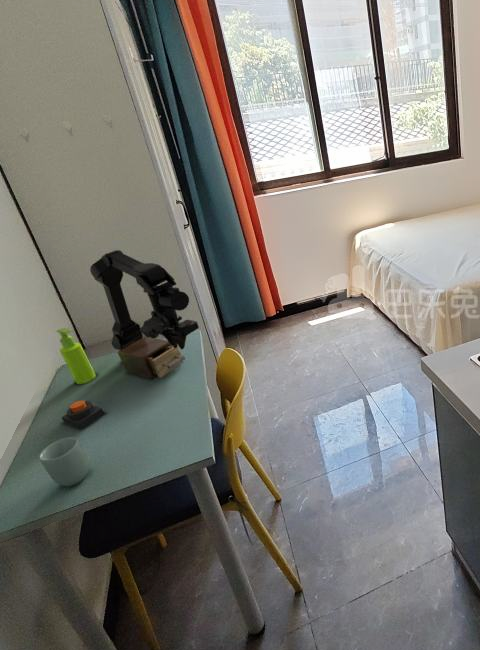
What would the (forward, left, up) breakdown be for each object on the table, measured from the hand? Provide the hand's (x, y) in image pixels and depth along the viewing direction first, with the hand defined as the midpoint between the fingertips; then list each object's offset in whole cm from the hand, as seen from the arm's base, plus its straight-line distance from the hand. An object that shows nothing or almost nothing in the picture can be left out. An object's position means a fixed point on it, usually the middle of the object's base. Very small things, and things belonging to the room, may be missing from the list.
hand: (179, 348), depth 144 cm
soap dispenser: (-37, -12, -11) cm, 41 cm away
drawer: (-12, 0, -10) cm, 16 cm away
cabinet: (-19, 0, -11) cm, 22 cm away
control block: (-15, -26, -11) cm, 32 cm away
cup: (+8, -42, -11) cm, 45 cm away
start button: (-15, -27, -7) cm, 31 cm away
